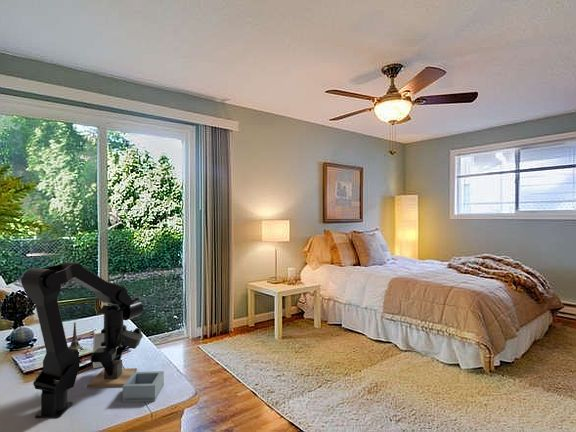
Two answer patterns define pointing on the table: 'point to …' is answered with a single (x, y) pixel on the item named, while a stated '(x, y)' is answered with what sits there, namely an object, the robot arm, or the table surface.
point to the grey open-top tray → (143, 386)
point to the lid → (112, 377)
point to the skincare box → (97, 345)
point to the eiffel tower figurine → (75, 340)
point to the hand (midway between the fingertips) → (113, 372)
